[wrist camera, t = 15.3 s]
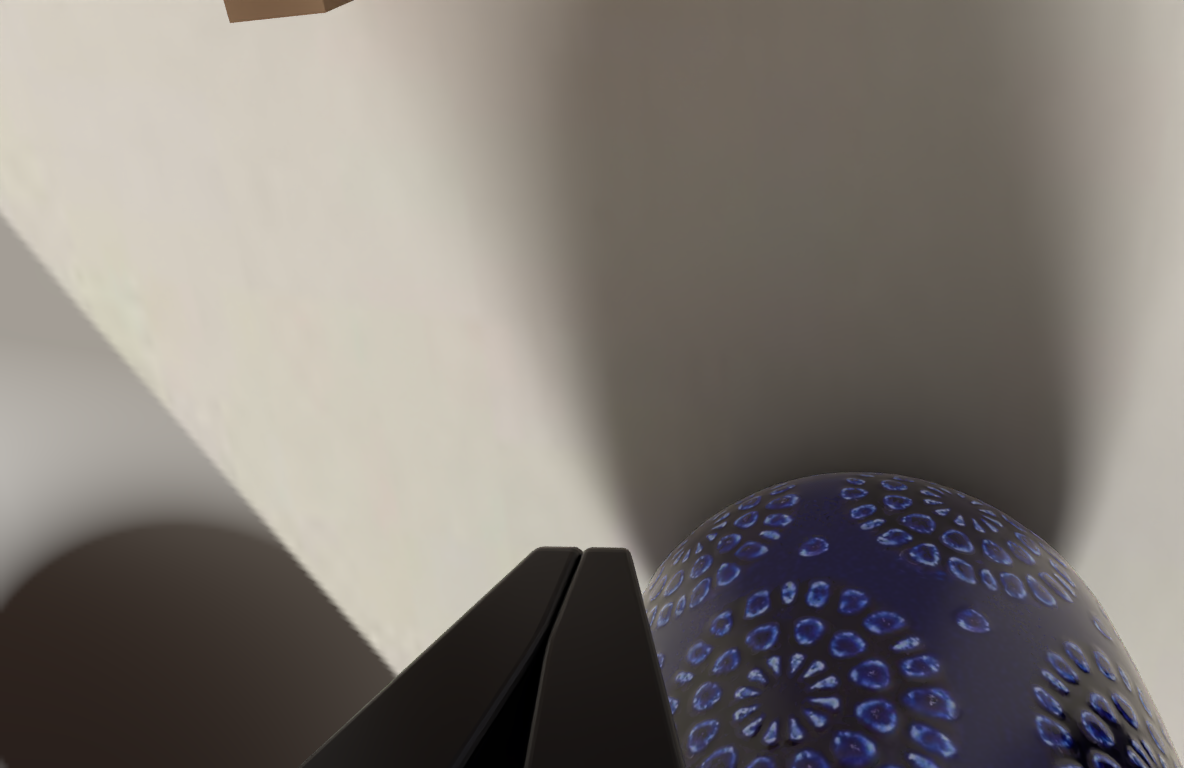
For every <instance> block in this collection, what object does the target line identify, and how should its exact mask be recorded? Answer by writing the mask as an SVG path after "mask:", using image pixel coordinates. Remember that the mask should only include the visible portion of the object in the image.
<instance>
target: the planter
mask: <svg viewBox="0 0 1184 768" xmlns="http://www.w3.org/2000/svg"><path fill="white" fill-rule="evenodd" d="M642 598H643V602H644V606H645V610H646V614H647V618H648V621H649V625H650V629H651V633H652V637H653V641H654V645H655V649H656V653H657V656H658V660H659V664H660V668H661V672H662V676H663V680H664V684H665V687H666V691H667V695H668V699H669V703H670V707H671V711H672V715H673V719H674V722H675V726H676V730H677V734H678V738H679V742H680V746H681V750H682V753H683V757H684V761H685V765H686V768H1183V766H1182V764H1181V762H1180V759H1179V757H1178V755H1177V752H1176V750H1175V748H1174V746H1173V743H1172V741H1171V739H1170V736H1169V734H1168V732H1167V730H1166V727H1165V725H1164V723H1163V721H1162V718H1161V716H1160V714H1159V712H1158V710H1157V708H1156V706H1155V704H1154V702H1153V700H1152V698H1151V696H1150V694H1149V692H1148V690H1147V688H1146V686H1145V684H1144V682H1143V680H1142V678H1141V676H1140V674H1139V672H1138V670H1137V668H1136V666H1135V664H1134V662H1133V660H1132V659H1131V657H1130V655H1129V653H1128V651H1127V650H1126V648H1125V646H1124V644H1123V642H1122V641H1121V639H1120V637H1119V635H1118V633H1117V632H1116V630H1115V628H1114V626H1113V624H1112V622H1111V621H1110V619H1109V617H1108V615H1107V613H1106V612H1105V610H1104V609H1103V607H1102V606H1101V604H1100V602H1099V601H1098V600H1097V598H1096V597H1095V596H1094V594H1093V593H1092V592H1091V591H1090V589H1089V588H1088V587H1087V585H1086V584H1085V583H1084V582H1083V580H1082V579H1081V578H1080V577H1079V575H1078V574H1077V573H1076V572H1075V570H1074V569H1073V568H1072V567H1071V566H1070V564H1069V563H1068V562H1067V561H1066V560H1065V559H1064V558H1063V557H1062V556H1061V555H1060V554H1059V553H1058V552H1057V551H1056V550H1055V549H1054V548H1053V547H1052V546H1050V545H1049V544H1048V543H1047V542H1046V541H1044V540H1043V539H1042V538H1041V537H1039V536H1038V535H1036V534H1035V533H1034V532H1032V531H1031V530H1029V529H1028V528H1026V527H1025V526H1024V525H1022V524H1021V523H1019V522H1018V521H1016V520H1015V519H1013V518H1012V517H1010V516H1009V515H1007V514H1005V513H1004V512H1002V511H1000V510H999V509H997V508H995V507H993V506H991V505H989V504H987V503H986V502H983V501H981V500H979V499H977V498H975V497H972V496H970V495H967V494H965V493H962V492H960V491H957V490H954V489H951V488H949V487H946V486H943V485H940V484H937V483H933V482H930V481H926V480H922V479H918V478H913V477H908V476H902V475H896V474H888V473H877V472H838V473H827V474H819V475H813V476H807V477H802V478H797V479H793V480H790V481H786V482H782V483H779V484H776V485H773V486H770V487H768V488H765V489H762V490H760V491H758V492H755V493H753V494H751V495H749V496H747V497H745V498H743V499H741V500H739V501H737V502H735V503H733V504H731V505H729V506H728V507H726V508H724V509H723V510H721V511H719V512H718V513H716V514H715V515H713V516H712V517H710V518H709V519H708V520H706V521H705V522H704V523H702V524H701V525H700V526H699V527H698V528H696V529H695V530H694V531H693V532H692V533H691V534H690V535H689V536H688V537H687V538H685V539H684V540H683V541H682V542H681V543H680V544H679V545H678V546H677V547H676V548H675V549H674V550H673V551H672V552H671V553H670V554H669V555H668V556H667V558H666V559H665V560H664V561H663V562H662V564H661V565H660V567H659V568H658V569H657V571H656V572H655V574H654V575H653V577H652V579H651V581H650V582H649V584H648V586H647V588H646V590H645V592H644V593H643V595H642Z"/></svg>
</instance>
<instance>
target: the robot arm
mask: <svg viewBox="0 0 1184 768" xmlns="http://www.w3.org/2000/svg"><path fill="white" fill-rule="evenodd" d="M298 768H686V765H685V761H684V757H683V753H682V750H681V746H680V742H679V738H678V734H677V730H676V726H675V722H674V719H673V715H672V711H671V707H670V703H669V699H668V695H667V691H666V687H665V684H664V680H663V676H662V672H661V668H660V664H659V660H658V656H657V653H656V649H655V645H654V641H653V637H652V633H651V629H650V625H649V621H648V618H647V614H646V610H645V606H644V602H643V598H642V594H641V590H640V587H639V583H638V579H637V575H636V571H635V567H634V563H633V559H632V556H631V553H630V552H629V550H627V549H626V548H604V547H591V548H588V549H586V550H585V551H584V552H583V551H582V550H580V549H579V548H577V547H546V546H545V547H539V548H537V549H535V550H534V551H532V552H531V553H530V554H529V555H528V556H527V557H526V558H525V559H524V560H522V561H521V562H520V563H519V564H518V565H517V566H516V567H515V568H514V569H513V570H512V571H511V572H509V573H508V574H507V575H506V576H505V577H504V578H503V579H502V580H501V581H500V582H499V583H498V584H496V585H495V586H494V587H493V588H492V589H491V590H490V591H489V592H488V593H487V594H486V595H485V596H483V597H482V598H481V599H480V600H479V601H478V602H477V603H476V604H475V605H474V606H473V607H472V608H470V609H469V610H468V611H467V612H466V613H465V614H464V615H463V616H462V617H461V618H460V619H459V620H457V621H456V622H455V623H454V624H453V625H452V626H451V627H450V628H449V629H448V630H447V631H446V632H444V633H443V634H442V635H441V636H440V637H439V638H438V639H437V640H436V641H435V642H434V643H433V644H431V645H430V646H429V647H428V648H427V649H426V650H425V651H424V652H423V653H422V654H421V655H420V656H418V657H417V658H416V659H415V660H414V661H413V662H412V663H411V664H410V665H409V666H408V667H407V668H405V669H404V670H403V671H402V672H401V673H400V674H399V675H398V676H397V677H396V678H395V679H394V680H392V681H391V682H390V683H389V684H388V685H387V686H386V687H385V688H384V689H383V690H382V691H381V692H380V693H378V694H377V695H376V696H375V697H374V698H373V699H372V700H371V701H370V702H369V703H367V705H365V706H364V707H363V708H362V709H361V710H360V711H359V712H358V713H357V714H356V715H354V716H353V717H352V718H351V719H350V720H349V721H348V722H347V723H346V724H345V725H344V726H343V727H342V728H340V729H339V731H337V732H336V733H335V734H334V735H333V736H332V737H331V738H330V739H329V740H327V741H326V742H325V743H324V744H323V745H322V746H321V747H320V748H319V749H318V750H317V751H315V752H314V753H313V754H312V755H311V756H310V757H309V758H308V759H307V760H306V761H305V762H304V763H302V764H301V765H300V766H299V767H298Z"/></svg>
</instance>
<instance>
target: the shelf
mask: <svg viewBox="0 0 1184 768" xmlns="http://www.w3.org/2000/svg"><path fill="white" fill-rule="evenodd" d="M351 1H353V0H224V3H225V7H226V10H227V14H228V17H229V21H230V23H234V22H243V21H252V20H261V19H270V18H280V17H289V16H298V15H307V14H316V13H325V12H328V11H330V10H332V9H335V8H337V7H339V6H341V5H344V4H346V3H348V2H351Z"/></svg>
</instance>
